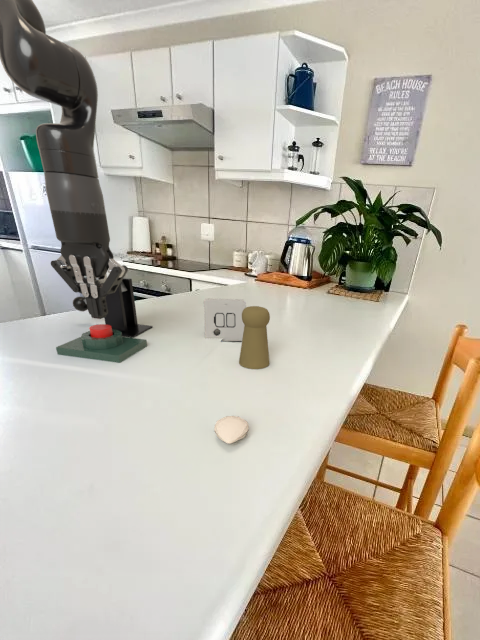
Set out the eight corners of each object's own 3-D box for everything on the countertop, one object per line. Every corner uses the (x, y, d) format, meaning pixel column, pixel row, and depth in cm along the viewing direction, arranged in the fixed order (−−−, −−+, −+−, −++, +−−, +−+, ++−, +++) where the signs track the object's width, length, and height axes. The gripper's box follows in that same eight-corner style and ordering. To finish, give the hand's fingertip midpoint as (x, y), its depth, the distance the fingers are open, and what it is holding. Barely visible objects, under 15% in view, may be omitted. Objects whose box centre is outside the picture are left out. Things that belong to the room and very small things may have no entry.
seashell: (249, 428, 43) (249, 412, 42) (246, 452, 39) (246, 435, 38) (217, 427, 43) (216, 411, 42) (210, 451, 39) (209, 433, 37)
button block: (58, 358, 58) (53, 337, 56) (92, 342, 66) (88, 323, 64) (120, 367, 57) (117, 345, 55) (147, 350, 65) (145, 330, 63)
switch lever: (75, 314, 71) (66, 301, 69) (85, 311, 73) (76, 298, 72) (121, 294, 67) (112, 279, 66) (129, 291, 70) (121, 277, 69)
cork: (248, 371, 60) (249, 312, 55) (233, 359, 64) (233, 304, 59) (275, 365, 63) (279, 309, 58) (259, 355, 67) (261, 302, 62)
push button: (86, 337, 59) (84, 328, 58) (99, 332, 62) (97, 323, 61) (105, 340, 58) (103, 330, 57) (117, 334, 61) (115, 325, 61)
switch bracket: (90, 335, 70) (79, 279, 64) (113, 325, 77) (105, 274, 71) (134, 341, 69) (126, 284, 63) (153, 330, 76) (147, 278, 70)
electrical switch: (204, 342, 72) (203, 299, 68) (205, 336, 76) (203, 296, 73) (246, 342, 74) (247, 300, 70) (244, 337, 79) (245, 298, 75)
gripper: (131, 213, 53) (144, 316, 61) (58, 207, 55) (80, 309, 62) (102, 211, 47) (120, 327, 55) (19, 204, 48) (49, 318, 56)
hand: (99, 317), depth 58 cm, fingers closed
